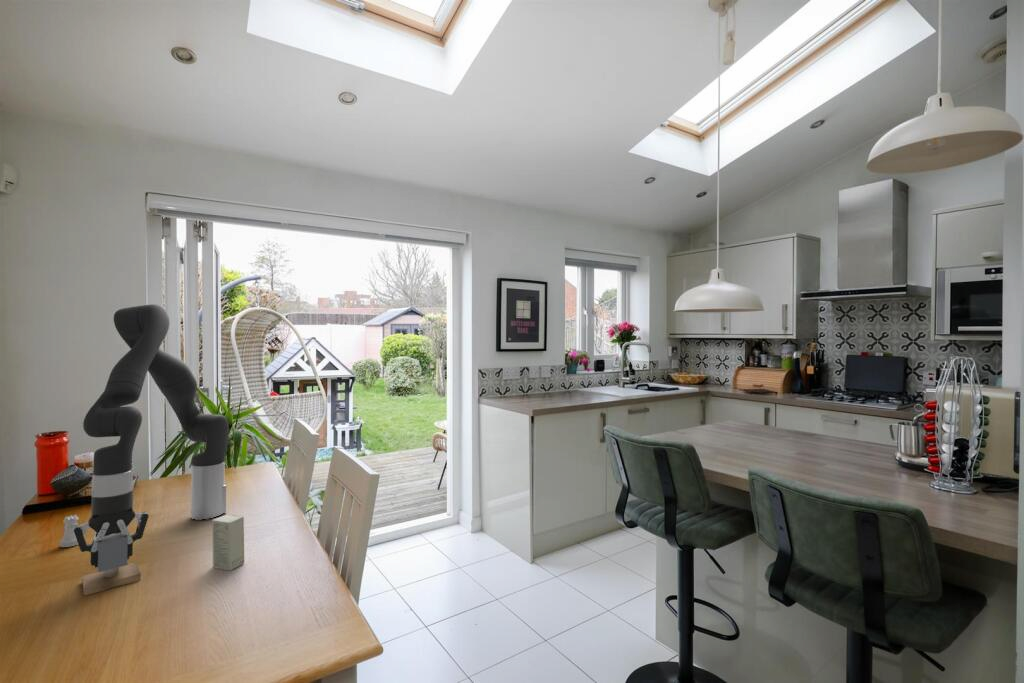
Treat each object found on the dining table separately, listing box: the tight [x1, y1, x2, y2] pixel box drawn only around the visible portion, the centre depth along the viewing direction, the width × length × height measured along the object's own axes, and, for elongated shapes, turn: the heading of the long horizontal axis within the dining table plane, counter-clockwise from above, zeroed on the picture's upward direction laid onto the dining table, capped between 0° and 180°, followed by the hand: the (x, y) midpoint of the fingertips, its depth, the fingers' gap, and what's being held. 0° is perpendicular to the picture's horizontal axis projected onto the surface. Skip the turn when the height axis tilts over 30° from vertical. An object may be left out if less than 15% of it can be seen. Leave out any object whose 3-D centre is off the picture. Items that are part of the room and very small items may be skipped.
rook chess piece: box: [59, 514, 80, 548], centre depth 132 cm, size 4×4×8 cm
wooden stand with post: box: [81, 562, 142, 596], centre depth 112 cm, size 10×8×9 cm
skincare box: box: [211, 513, 245, 571], centre depth 120 cm, size 6×4×12 cm
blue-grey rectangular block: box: [96, 532, 128, 572], centre depth 112 cm, size 5×5×7 cm
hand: (111, 562), depth 112 cm, fingers closed on blue-grey rectangular block, 5 cm apart
